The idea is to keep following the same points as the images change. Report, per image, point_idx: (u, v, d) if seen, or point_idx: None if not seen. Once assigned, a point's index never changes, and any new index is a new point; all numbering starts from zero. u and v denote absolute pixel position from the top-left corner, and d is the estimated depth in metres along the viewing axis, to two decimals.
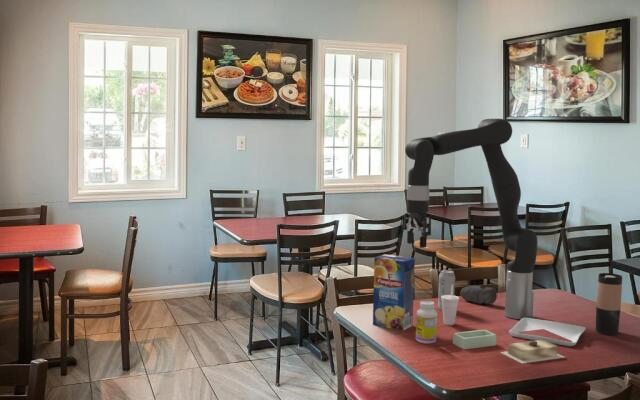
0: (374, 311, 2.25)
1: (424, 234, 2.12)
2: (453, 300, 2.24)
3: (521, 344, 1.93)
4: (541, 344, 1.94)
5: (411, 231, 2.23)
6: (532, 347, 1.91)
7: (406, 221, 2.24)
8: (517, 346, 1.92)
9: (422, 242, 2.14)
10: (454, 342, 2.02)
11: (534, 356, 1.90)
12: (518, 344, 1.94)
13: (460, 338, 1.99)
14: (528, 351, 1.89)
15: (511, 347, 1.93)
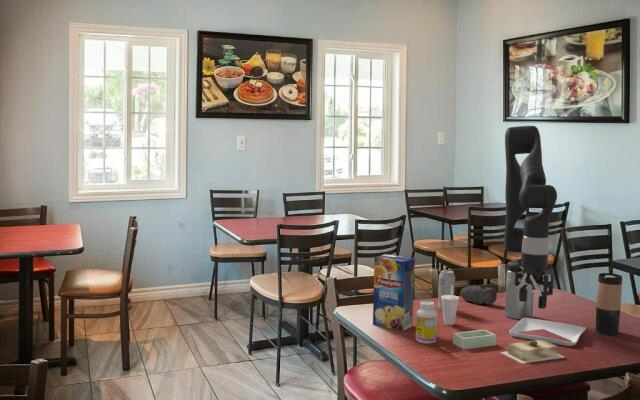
0: (374, 311, 2.25)
1: (545, 294, 1.85)
2: (453, 300, 2.24)
3: (521, 344, 1.93)
4: (541, 344, 1.94)
5: (524, 287, 1.96)
6: (532, 347, 1.91)
7: (518, 276, 1.97)
8: (517, 346, 1.92)
9: (542, 302, 1.87)
10: (454, 342, 2.02)
11: (534, 356, 1.90)
12: (518, 344, 1.94)
13: (460, 338, 1.99)
14: (528, 351, 1.89)
15: (511, 347, 1.93)
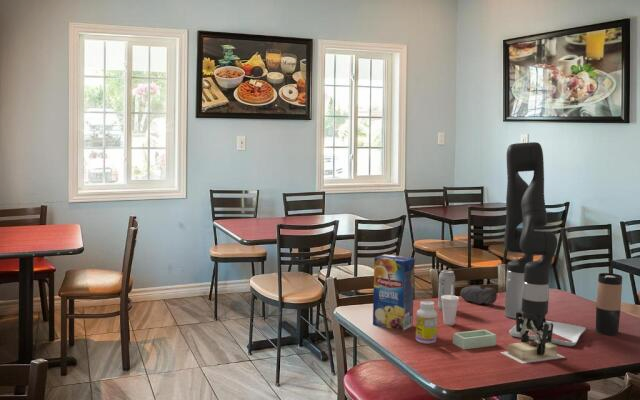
0: (374, 311, 2.25)
1: (544, 342, 1.87)
2: (453, 300, 2.24)
3: (521, 344, 1.93)
4: None
5: (526, 334, 1.96)
6: (532, 347, 1.91)
7: (519, 321, 1.97)
8: (517, 346, 1.92)
9: (540, 349, 1.89)
10: (454, 342, 2.02)
11: (534, 356, 1.90)
12: (518, 344, 1.94)
13: (460, 338, 1.99)
14: (528, 351, 1.89)
15: (511, 347, 1.93)
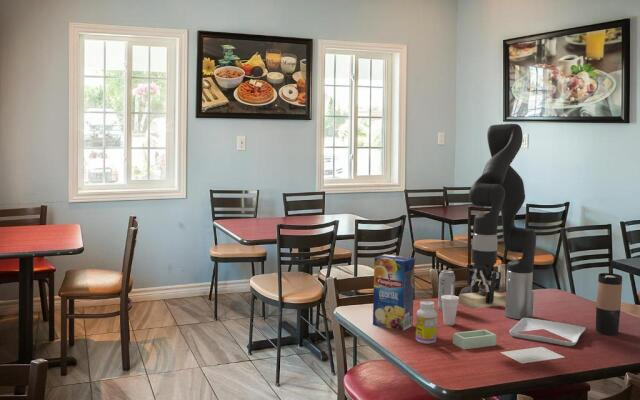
0: (374, 311, 2.25)
1: (492, 290, 1.93)
2: (453, 300, 2.24)
3: (471, 294, 2.00)
4: None
5: (477, 285, 2.03)
6: (481, 296, 1.98)
7: (470, 273, 2.04)
8: (467, 295, 1.98)
9: (489, 298, 1.96)
10: (454, 342, 2.02)
11: (483, 304, 1.96)
12: (468, 294, 2.00)
13: (460, 338, 1.99)
14: (477, 299, 1.95)
15: (461, 297, 1.99)
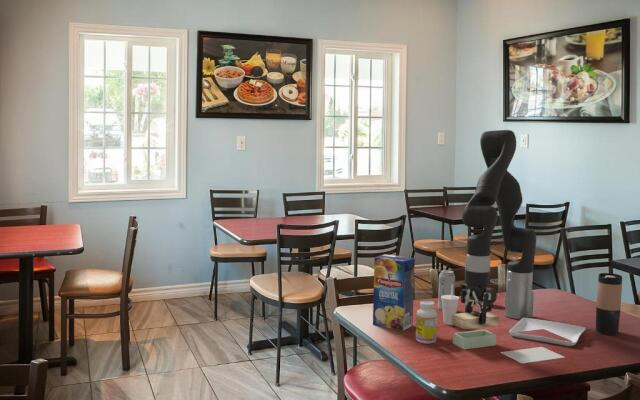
0: (374, 311, 2.25)
1: (484, 311, 1.95)
2: (453, 300, 2.24)
3: (464, 314, 2.02)
4: None
5: (470, 305, 2.04)
6: (474, 317, 1.99)
7: (463, 293, 2.06)
8: (460, 316, 2.00)
9: (481, 319, 1.97)
10: (454, 342, 2.02)
11: (475, 325, 1.98)
12: (461, 314, 2.02)
13: (460, 338, 1.99)
14: (470, 320, 1.97)
15: (454, 317, 2.01)
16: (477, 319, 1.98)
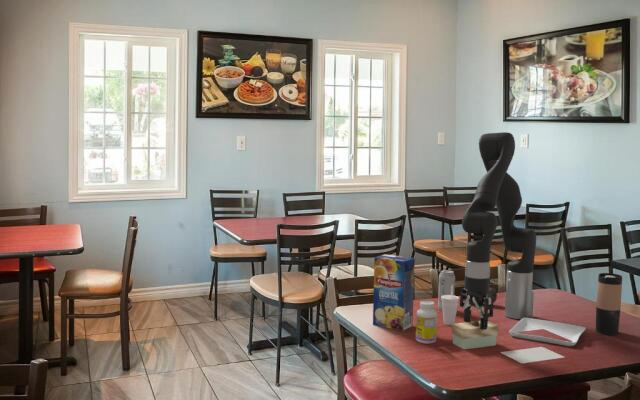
0: (374, 311, 2.25)
1: (486, 316, 1.94)
2: (453, 300, 2.24)
3: (464, 324, 2.02)
4: None
5: (468, 308, 2.05)
6: (474, 326, 2.00)
7: (463, 297, 2.06)
8: (460, 325, 2.00)
9: (483, 324, 1.97)
10: (454, 342, 2.02)
11: (475, 335, 1.98)
12: (461, 324, 2.02)
13: (460, 338, 1.99)
14: (469, 330, 1.97)
15: (454, 326, 2.01)
16: (477, 329, 1.98)
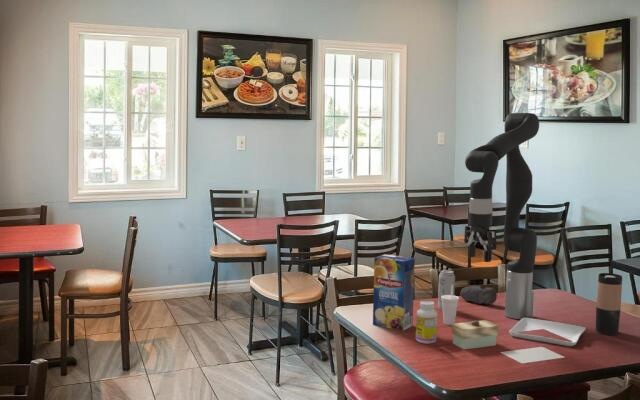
0: (374, 311, 2.25)
1: (490, 248, 2.07)
2: (453, 300, 2.24)
3: (464, 324, 2.02)
4: (483, 324, 2.03)
5: (473, 244, 2.18)
6: (474, 326, 2.00)
7: (467, 234, 2.19)
8: (460, 325, 2.00)
9: (487, 256, 2.09)
10: (454, 342, 2.02)
11: (475, 335, 1.98)
12: (461, 324, 2.02)
13: (460, 338, 1.99)
14: (469, 330, 1.97)
15: (454, 326, 2.01)
16: (477, 329, 1.98)
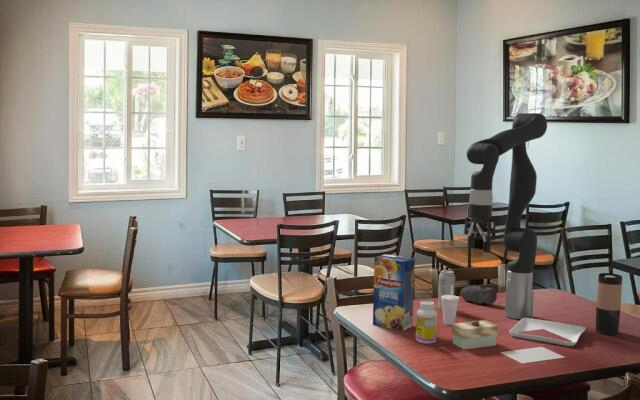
0: (374, 311, 2.25)
1: (489, 239, 2.10)
2: (453, 300, 2.24)
3: (464, 324, 2.02)
4: (483, 324, 2.03)
5: (472, 236, 2.21)
6: (474, 326, 2.00)
7: (467, 225, 2.22)
8: (460, 325, 2.00)
9: (486, 247, 2.13)
10: (454, 342, 2.02)
11: (475, 335, 1.98)
12: (461, 324, 2.02)
13: (460, 338, 1.99)
14: (469, 330, 1.97)
15: (454, 326, 2.01)
16: (477, 329, 1.98)
